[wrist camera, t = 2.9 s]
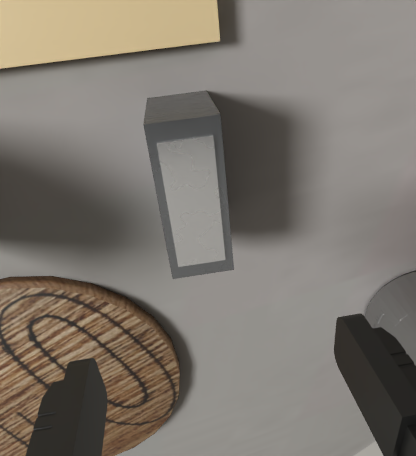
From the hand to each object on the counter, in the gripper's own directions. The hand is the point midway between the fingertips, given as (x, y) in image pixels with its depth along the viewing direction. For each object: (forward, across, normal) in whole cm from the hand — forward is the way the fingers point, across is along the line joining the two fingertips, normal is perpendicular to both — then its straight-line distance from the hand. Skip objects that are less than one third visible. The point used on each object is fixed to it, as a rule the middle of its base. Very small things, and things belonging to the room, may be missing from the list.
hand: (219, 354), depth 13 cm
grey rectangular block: (+18, 0, 0) cm, 18 cm away
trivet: (+19, +16, +20) cm, 32 cm away
